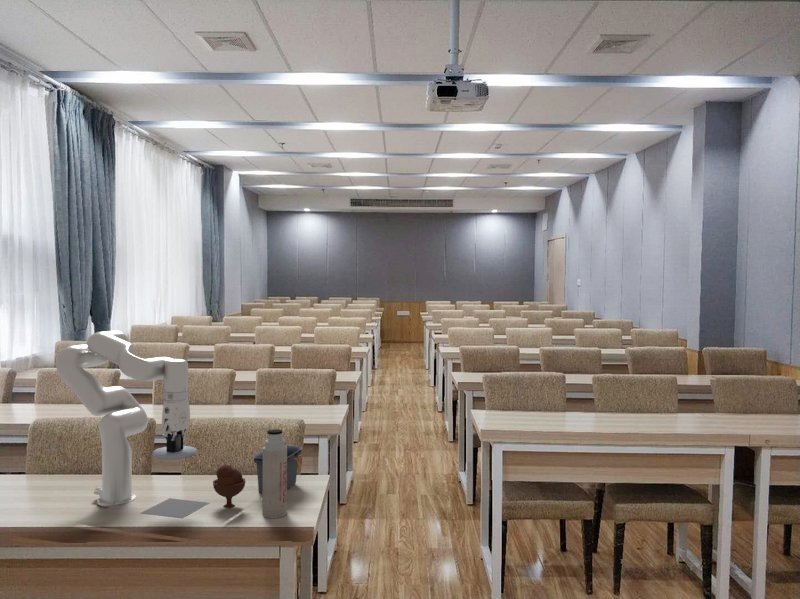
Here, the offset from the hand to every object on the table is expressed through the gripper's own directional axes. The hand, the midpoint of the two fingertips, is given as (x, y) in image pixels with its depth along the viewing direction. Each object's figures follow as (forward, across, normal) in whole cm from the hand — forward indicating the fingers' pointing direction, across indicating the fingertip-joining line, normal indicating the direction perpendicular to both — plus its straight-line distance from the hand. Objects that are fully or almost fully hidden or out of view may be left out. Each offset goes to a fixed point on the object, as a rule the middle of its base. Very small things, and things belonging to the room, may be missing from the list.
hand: (174, 450), depth 225 cm
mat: (+20, 0, -1) cm, 20 cm away
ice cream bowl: (+20, +7, -17) cm, 27 cm away
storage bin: (+20, +32, -24) cm, 45 cm away
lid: (+1, 0, 0) cm, 1 cm away
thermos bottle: (+20, +7, -34) cm, 40 cm away
